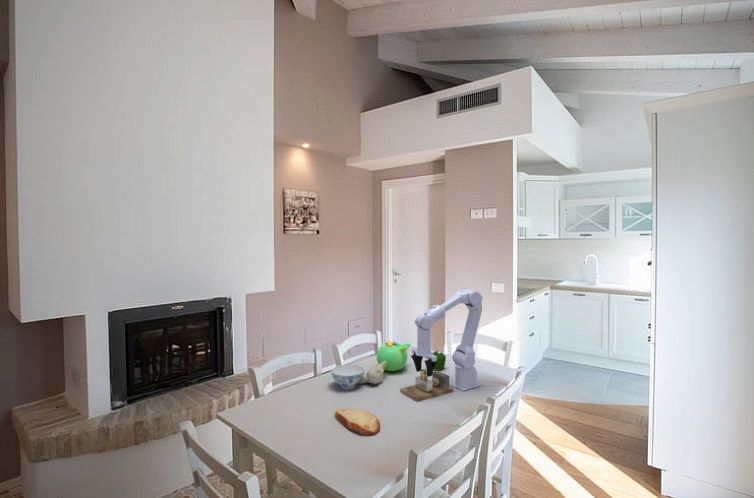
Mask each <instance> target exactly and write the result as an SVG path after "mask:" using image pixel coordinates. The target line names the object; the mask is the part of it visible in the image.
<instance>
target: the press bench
mask: <svg viewBox="0 0 754 498" xmlns="http://www.w3.org/2000/svg"><path fill="white" fill-rule="evenodd" d="M431 377H432V379H431V381H433V391H430V392H426V391H424V390H422V389H420V388H418V387H416V386H415V384H414V385H410V386H406V387H403V388H400V389H399V392H400V393H401V394H403V395H404V396H406V397H408V398H410V399H412V400H413V401H415V402H417V403H418V402H421V401H422V402H423V401H425V400H429V399H432V398H437V397H439V396H443V395H447V394H451V393H454V387H453V386H452V387H451V386H450V375H449V374H446V373H444V372H441V371H440V370H433V374H432V376H431Z"/></svg>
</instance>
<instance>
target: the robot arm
mask: <svg viewBox="0 0 754 498" xmlns="http://www.w3.org/2000/svg"><path fill="white" fill-rule="evenodd" d="M482 302H483V296H482V294H481V292H480V291H478V290H473V289H468V288H461V289H459V290H457V291H456V293H455V294H454V295H453V296H451V297H449V299H447V300H446V301H444V302H443V303H442V304H441V305H440V304H436V305H435V304H433V305H432V308H430V309H429V310H427V311H424V312H423V313H422V314H418V315H417V316H416V317H415V320H414V324H415V325H416V327H417V328H416V330H417V331H416V333H417V335H416V337H417V339H416V341H417V343H416V344H417V347H415V348H411V349H412V350H411V351H412V352H411V356H410V357H411V359H412V361H413V363H414V367H415V371H416V372H420V370H421V369H422V365H423V364H422V363H423V358H425V359H426V360H424V364H425V369H427V378H430V377H432V374H433V372H434V371H435V370H434V367H435V365H436V363H437V356H435V355H433V354H432V353H433V352H431V350H432V349H431V346H432V345H431V344H432V343H431V341H432V340H431V336H432V335H431V328H432V327H433V326H434V323H436V322H437V321H439V320H441V319H442V318H443V317H445V315H446V313H447V311H449V310H451V309H453V308H454V307H456V306H457V305H460V304H464V305H465V306H466V308H467V310H468V314H467V317H466V322H465V325H464V330H463V334H462V337H461V341H460V344H459V345H457V346H456V347H455V350H454V351H453V353H452V357H451V358H452V361H453V362H454V366H455V367H454V368H455V370H454V371H455V375H454V377H455V378H454V381H455V382H454V383H451V386H452V387H453V388H454V387H455V388H457V389H459V390H461V391H462V392H463V391H467V390H471V389H475V388H478V387H479V385H478V371H477V369H476V366H475V365H476V364H475V363H476V358H475V357H476V351H475V350H474V348H473V347H474V343H475V339H476V335H477V331H478V327H479V324H480V321H481V316H482V312H483V303H482Z"/></svg>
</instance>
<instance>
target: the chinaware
mask: <svg viewBox="0 0 754 498" xmlns="http://www.w3.org/2000/svg"><path fill="white" fill-rule="evenodd" d="M331 375H332V378H333V380H334V381H335V383H337V384H338V385H339V386H340V388H341V389H343V390H353V389H355V388H356V387H357V385H358V384H360V383H359V382H360V381H361V379H362V378H363V376H364V375H365V368H364V366H361V365H358V364H340V365H337V366H334V367H333V368H331Z"/></svg>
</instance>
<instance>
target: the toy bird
mask: <svg viewBox="0 0 754 498" xmlns="http://www.w3.org/2000/svg"><path fill="white" fill-rule="evenodd" d="M385 342H386V343H383V344H381V346H379V348H378V350H377V352H376V361H377V365H379V364H381V363H382V362H383V361H386V362H387V365H386V366H385V369H384V371H388V372H397V371H399V370H401V369H403V368H404V367H405V366H406V363H407V361H408V352H407V351H408V349H410V348H409V347H410V346H411V343H410V342H408V343H405V344H403V345H402V344H400V343H398V342H396V341H390V340H385Z"/></svg>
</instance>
